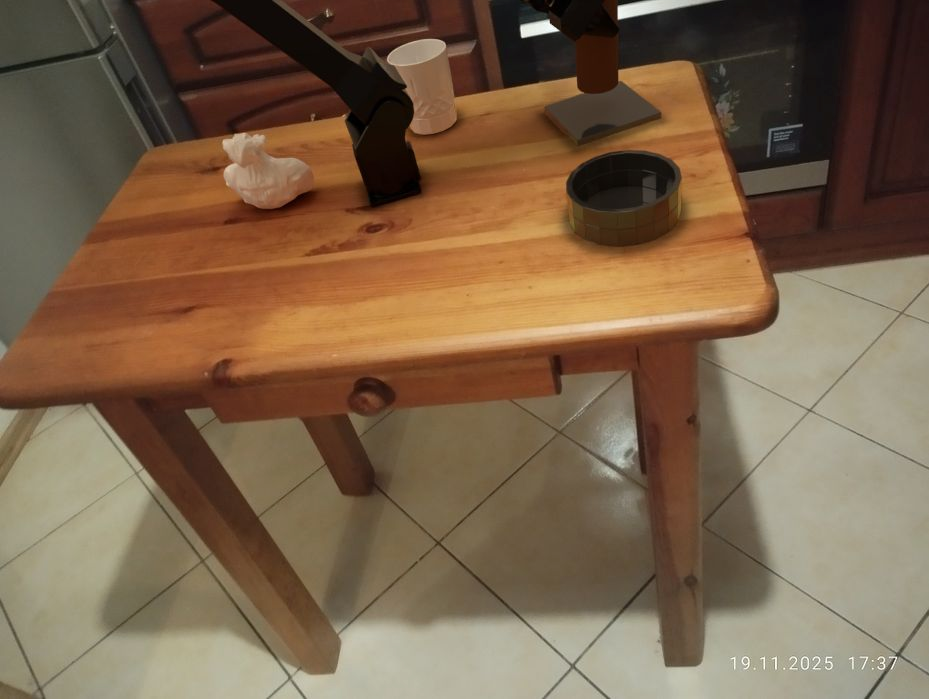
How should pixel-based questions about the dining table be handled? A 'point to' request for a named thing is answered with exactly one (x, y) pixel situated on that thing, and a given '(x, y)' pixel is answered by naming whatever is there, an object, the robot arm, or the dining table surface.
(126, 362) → the dining table surface
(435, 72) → the white cup
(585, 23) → the robot arm
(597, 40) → the brown cylinder
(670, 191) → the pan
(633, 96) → the plate
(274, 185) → the white lumpy figure
